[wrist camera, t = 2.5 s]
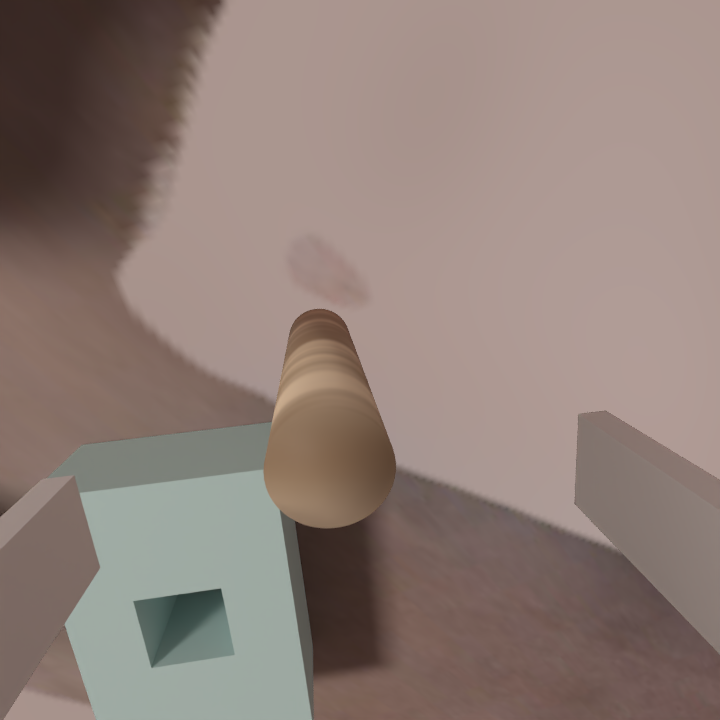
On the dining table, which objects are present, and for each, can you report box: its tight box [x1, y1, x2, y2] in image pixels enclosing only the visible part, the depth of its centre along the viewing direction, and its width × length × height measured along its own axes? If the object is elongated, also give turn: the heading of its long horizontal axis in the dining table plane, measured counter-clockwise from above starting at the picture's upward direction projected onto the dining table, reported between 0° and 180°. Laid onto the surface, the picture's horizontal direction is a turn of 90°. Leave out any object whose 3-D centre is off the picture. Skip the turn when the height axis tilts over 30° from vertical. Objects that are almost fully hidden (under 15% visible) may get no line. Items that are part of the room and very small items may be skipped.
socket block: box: [48, 422, 314, 720], centre depth 28 cm, size 18×12×6 cm, turn 5°
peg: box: [263, 309, 396, 528], centre depth 20 cm, size 4×4×16 cm
